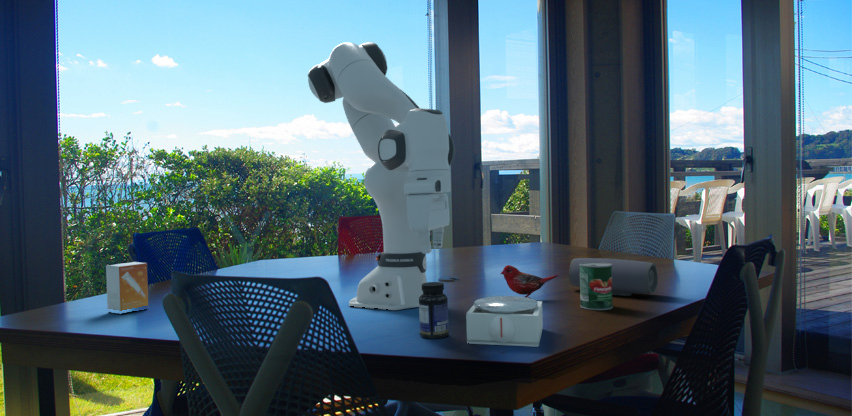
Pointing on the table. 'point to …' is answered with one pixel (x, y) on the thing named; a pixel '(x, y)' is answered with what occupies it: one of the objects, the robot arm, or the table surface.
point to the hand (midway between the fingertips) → (432, 250)
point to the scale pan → (506, 304)
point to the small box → (127, 285)
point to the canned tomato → (596, 285)
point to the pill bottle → (433, 311)
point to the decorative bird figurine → (523, 281)
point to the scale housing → (505, 327)
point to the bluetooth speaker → (622, 275)
